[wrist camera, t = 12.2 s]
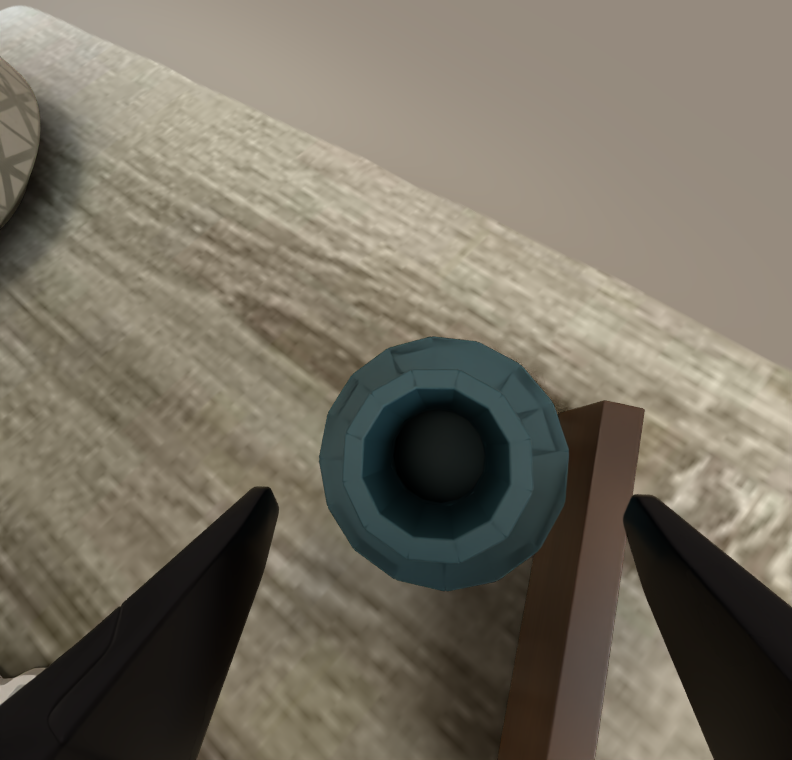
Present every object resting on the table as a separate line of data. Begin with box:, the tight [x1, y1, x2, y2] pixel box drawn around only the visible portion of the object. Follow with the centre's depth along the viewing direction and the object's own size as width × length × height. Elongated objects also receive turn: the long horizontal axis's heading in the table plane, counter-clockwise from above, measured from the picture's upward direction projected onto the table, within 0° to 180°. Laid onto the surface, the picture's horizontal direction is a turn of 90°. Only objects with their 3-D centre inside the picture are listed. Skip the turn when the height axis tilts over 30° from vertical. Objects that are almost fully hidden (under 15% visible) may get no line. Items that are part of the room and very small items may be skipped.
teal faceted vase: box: [319, 337, 569, 591], centre depth 13 cm, size 7×7×14 cm
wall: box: [497, 400, 645, 760], centre depth 15 cm, size 19×2×6 cm, turn 166°
